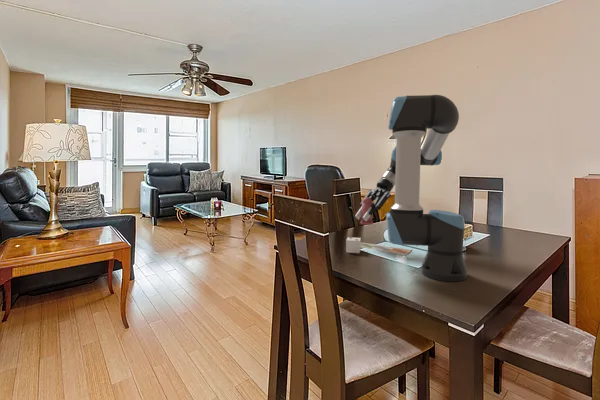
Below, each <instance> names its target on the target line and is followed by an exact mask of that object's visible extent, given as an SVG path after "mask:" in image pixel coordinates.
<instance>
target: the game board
mask: <svg viewBox="0 0 600 400" xmlns="http://www.w3.org/2000/svg"><path fill="white" fill-rule="evenodd" d="M361 249H367V250H374V251H379V252H380V251H381V252H386V253H393V254H399V255H403V256H404V255H405V257H406V256H408V255H409V254H410V253H412V252H413V251H412V249H406V248H399V247H394V246H386V245H380V244H374V243H368V242H362V241H361ZM408 253H409V254H408Z"/></svg>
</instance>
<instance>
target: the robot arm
mask: <svg viewBox="0 0 600 400" xmlns="http://www.w3.org/2000/svg"><path fill="white" fill-rule="evenodd" d="M459 119H460V114H459V110H458V107H457V106H456V104H455V102H454V101H453V100H451V99H450V98H449V97H446V96H445V95H442V94H432V95H431V94H430V95H429V94H428V95H426V94H425V95H423V94H422V95H404V96H396V97H394V98H393V100H392V103H391V108H390V115H389V121H388V128H387V129H389V130H391V131H392V133H391V134H392V136H393V137H394V138H395V139H396V144H395V146H394V147H393V149H392V152H391V155H390V157H391V158H390V165H389V167H388V168H387V169H386V171H385V172H384V173H383V175H382V176H381V178H380V179H379V180H378V182H377V183H376V187H375V188H374V189H368V192H367V193H366V195H365V196H364V198H365V197H369V198H371V200H372V205H371V206H372V207H370V208H369V209H368V211H367V212H366V213H365V215H364V216H363V218H364V220H365V221H367V220H368V219H369V217H370V216H371V215H372V216H373V215H374V213H375V211H377V210H378V211H380V210H381V209H382V207H383V206H384V205H385V204H386V202H387V200H388V199H389V198H390V197H392V194H391V191H392V190H393V188H394V203H393V205H391V207H390V212H386V213H385V216H386V217H385V218H386V228H387V236H388V241H389V242H390V243H391V244H394V245H401V246H405V245H406V246H421V247H423V246H424V247H427V253H426V254H425V257H424V260H423V262H422V264H421V274H423V275H424V276H425V277H428V278H431V279H434V280H437V281H444V282H462V281H464V280H466V279H467V275H468V274H467V273H468V270H467V267H466V264H465V260H464V256H463V251H464V239H465V238H464V237H465V236H464V235H465V228H466V227H465V218H464V217H463V216H462V215H461V214H459V213H456V212H453V211H446V210H441V209H430V210H429V211H428V213H424V208H423V207H422V206H421V205H420V190H421V189H420V187H421V186H420V183H421V166H431V167H432V166H439V165H440V164H441V163H442V160H443V159H442V157H443V152H442V148H443V147H444V144H445V143H446V140H447V139H448V136H449V134H451V133H452V132H453V131H454V130H455V129H456V127H458V126H457V125H458V124H459ZM427 129H428V132H427ZM426 133H427V135H426ZM425 135H426V137H425V140H424V142H423V146H422V138H423V137H424V136H425ZM364 198H363V199H364ZM363 199H362V200H361V202H360V203H359V205H360V208H359V209H358V211H357V212H356V214H355V216H354V217H355V218H356V219H357V220H360V219H362V203H363Z"/></svg>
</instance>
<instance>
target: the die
mask: <svg viewBox="0 0 600 400" xmlns="http://www.w3.org/2000/svg"><path fill="white" fill-rule="evenodd" d="M361 242H362V240H361V237H354V236H353V237H351V236H350V237H349V236H347V238H346V242H345V246H346V248H345V252H346V253H351V254H361V249H362V248H361Z"/></svg>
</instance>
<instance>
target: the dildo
mask: <svg viewBox="0 0 600 400" xmlns="http://www.w3.org/2000/svg"><path fill="white" fill-rule="evenodd" d="M364 197H365V196H364ZM362 200H363V203H362V216H361V220H360V225H364V226H365V225H366V226H367V225H370V226H371V225H373V224H374V221H373V214H372V215H371V216H370V217H369V219H368V220H367V221H365V220H364V218H363V216H364V215H365V213H366V212H367V211H368V209H369V208H370V207H372V206H371V205H373V202H372V200H371V198H369V197H365V198H363V199H362Z"/></svg>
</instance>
